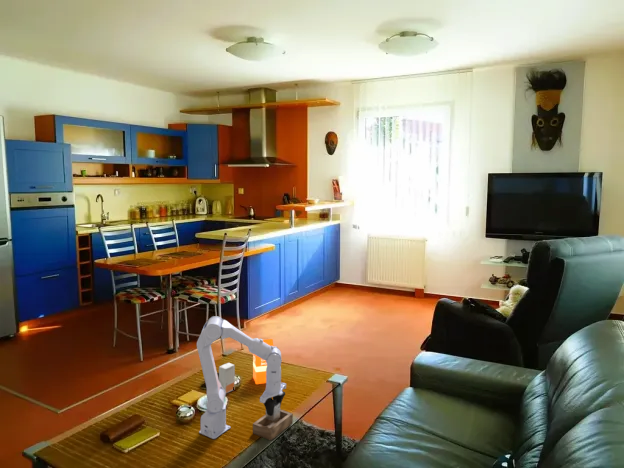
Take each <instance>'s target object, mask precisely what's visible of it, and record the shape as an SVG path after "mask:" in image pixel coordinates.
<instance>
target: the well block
mask: <svg viewBox="0 0 624 468" xmlns="http://www.w3.org/2000/svg"><path fill="white" fill-rule="evenodd" d="M293 417H294V416H293V412H289V411H286V410H284V409H281V408H280V417H279V418H278V419H277V420H275V421H271V420H268V419H266V414H264V415H263V416H262V417H260V418H259V419H257V420H256V421H255V422H253V423H252V434H253V435H255V436H258V437H261V438H263V439H265V440H267V441H268V440H269V441H273V439H275V438H276V437H277V436H278V435H279V434H281V433H282V432H283V431H285V429H287V428H289V427H290V426H291V425H292V424H293V422H294V421H293V419H294V418H293Z"/></svg>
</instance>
